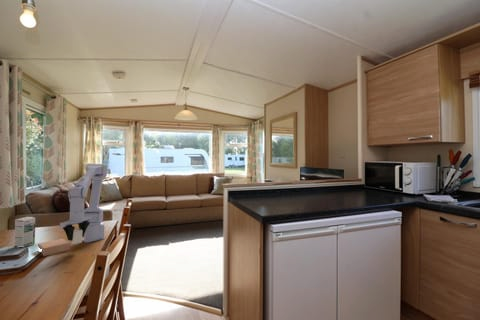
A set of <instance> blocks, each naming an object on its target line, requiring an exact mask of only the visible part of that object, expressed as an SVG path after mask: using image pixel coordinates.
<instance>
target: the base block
mask: <svg viewBox="0 0 480 320" xmlns="http://www.w3.org/2000/svg"><path fill="white" fill-rule="evenodd" d="M70 244H71V243H70V241H69V240H66V239H64V238H60V239H55V240H49V241H44V242H39V243H37V248H38V247H39V248H40V249H42V251H43V255H42V256H43V257H45V256H49V255H55V254H58V253H62V252H66V251H69V250H70Z"/></svg>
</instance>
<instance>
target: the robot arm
mask: <svg viewBox="0 0 480 320" xmlns="http://www.w3.org/2000/svg"><path fill="white" fill-rule="evenodd" d="M84 169H85V170H84V171H85V173H84V176H82V177H80V178H79V179H78V181H77V182H76V183H75V185H74V186H71V187H69V189H68V192H67V196H68V201H69V202H68V203H69V219H68V220H66V221H63V222H59V227H60V228H62V229H63V231H64V233H65V235H66V238H67V241H68V242H70V241H72V240H73V232H74V230H75V229H76V227H75V226H74V225H78V229H81V230H83V231H82V242H84V243H86V244H87V243H90V242H91V243H92V242H95V241H96V242H97V241H99V240H101V241H102V240H105V224H104V222H103V220H104V210H103V209H102V208H101V207H99V206H100V200H101V199H100V198H101V193H102V185H103V182H104V181H103V180H104V179H106V178H107V174H108V165H107V164H106V163H89V162H88V163H87V164H86V166H85V168H84ZM91 184H92V185H91ZM90 186H91V191H90V198H89V203H88V207H86V208H85V200H86V199H85V198H87V195H88V192H89V190H88V189H89V187H90Z"/></svg>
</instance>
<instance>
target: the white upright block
mask: <svg viewBox="0 0 480 320" xmlns="http://www.w3.org/2000/svg"><path fill="white" fill-rule="evenodd" d="M82 231H83V230H81V229H79V228H75V229H74V232H73V240H72V241H69V243H70V244H71V245H76V244H80V243H83V240H82V239H83V237H82Z"/></svg>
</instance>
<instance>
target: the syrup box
mask: <svg viewBox="0 0 480 320" xmlns="http://www.w3.org/2000/svg"><path fill="white" fill-rule="evenodd" d="M35 240H36V217H34V216H25V217H20V218H15V220H14V244H13V245H14V246H27V245H30V246H34V245H35V244H36V241H35ZM14 246H13V247H14ZM27 247H28V246H27Z"/></svg>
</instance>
